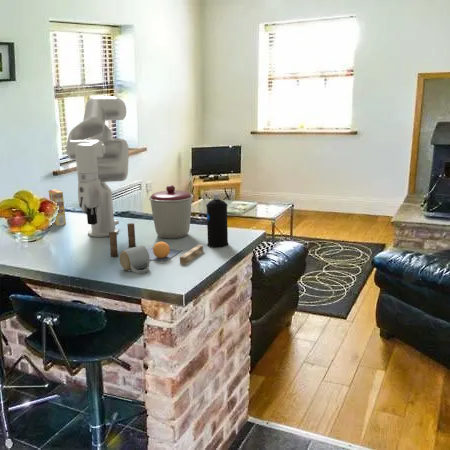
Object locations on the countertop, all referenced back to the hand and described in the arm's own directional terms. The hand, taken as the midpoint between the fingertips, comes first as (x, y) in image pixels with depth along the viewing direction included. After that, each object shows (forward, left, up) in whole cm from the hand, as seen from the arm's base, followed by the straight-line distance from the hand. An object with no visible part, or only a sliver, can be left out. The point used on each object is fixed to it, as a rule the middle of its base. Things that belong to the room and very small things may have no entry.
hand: (92, 223), depth 213 cm
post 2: (-5, +13, -10) cm, 17 cm away
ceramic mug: (+19, +29, -10) cm, 36 cm away
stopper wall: (+1, +41, -10) cm, 43 cm away
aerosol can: (-17, +44, -10) cm, 49 cm away
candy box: (-30, -39, -10) cm, 50 cm away
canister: (-25, +21, -10) cm, 34 cm away
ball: (+5, +31, -7) cm, 32 cm away
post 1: (+8, +13, -10) cm, 18 cm away
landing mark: (+1, +27, -10) cm, 29 cm away
